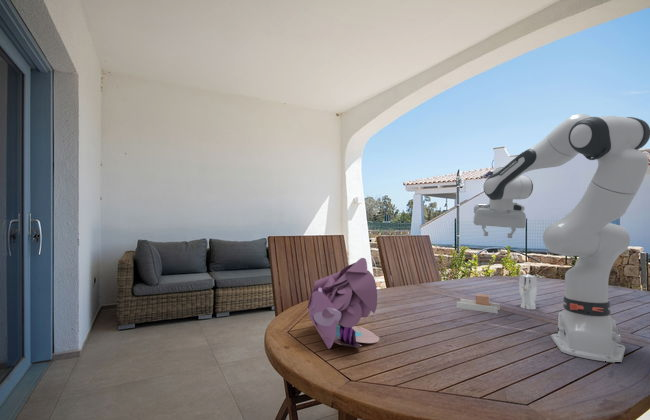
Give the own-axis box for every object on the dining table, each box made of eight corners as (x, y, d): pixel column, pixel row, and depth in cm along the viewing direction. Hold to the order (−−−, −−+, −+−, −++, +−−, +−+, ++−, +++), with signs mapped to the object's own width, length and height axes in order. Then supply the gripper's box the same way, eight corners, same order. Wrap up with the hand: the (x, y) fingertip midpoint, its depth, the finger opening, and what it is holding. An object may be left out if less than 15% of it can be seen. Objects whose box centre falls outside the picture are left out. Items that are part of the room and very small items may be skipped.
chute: (497, 316, 142) (497, 307, 142) (456, 310, 151) (456, 302, 151) (499, 311, 148) (499, 303, 148) (460, 306, 157) (460, 298, 157)
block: (488, 311, 145) (488, 297, 145) (475, 309, 148) (475, 295, 148) (490, 308, 149) (490, 294, 149) (477, 307, 152) (477, 293, 152)
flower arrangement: (398, 367, 103) (420, 275, 104) (327, 363, 94) (351, 263, 95) (347, 322, 136) (364, 252, 136) (291, 317, 127) (309, 242, 127)
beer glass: (540, 312, 149) (540, 277, 149) (524, 311, 149) (524, 276, 149) (531, 308, 156) (531, 274, 156) (516, 307, 156) (515, 274, 156)
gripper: (475, 204, 148) (472, 236, 150) (528, 207, 142) (525, 240, 144) (473, 203, 154) (471, 233, 156) (524, 205, 148) (521, 237, 150)
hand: (497, 236), depth 150 cm, fingers open, 8 cm apart
